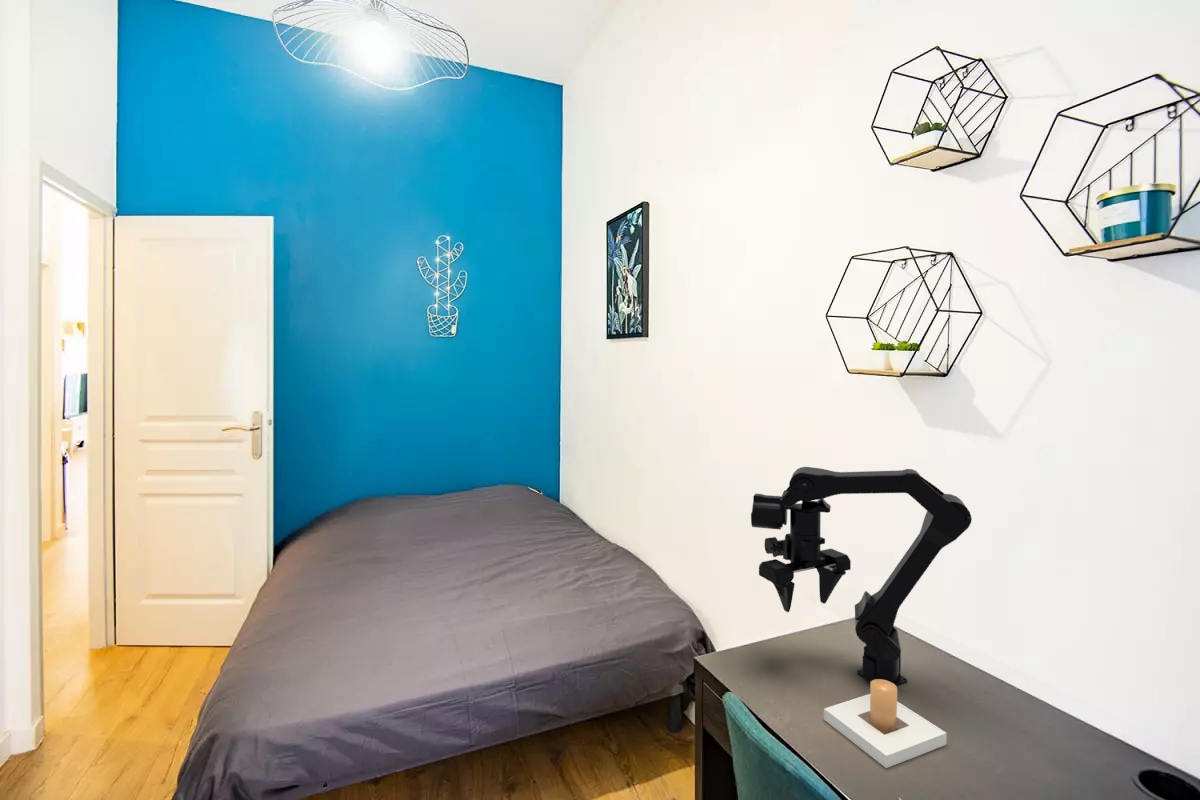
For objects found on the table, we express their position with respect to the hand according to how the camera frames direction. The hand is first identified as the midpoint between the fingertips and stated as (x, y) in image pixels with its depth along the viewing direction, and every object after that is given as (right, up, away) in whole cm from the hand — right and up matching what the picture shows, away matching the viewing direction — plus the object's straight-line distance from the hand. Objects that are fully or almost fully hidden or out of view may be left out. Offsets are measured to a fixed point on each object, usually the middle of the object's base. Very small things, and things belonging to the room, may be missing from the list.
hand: (805, 607), depth 118 cm
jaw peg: (+6, -14, -20) cm, 25 cm away
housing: (+6, -14, -20) cm, 25 cm away
